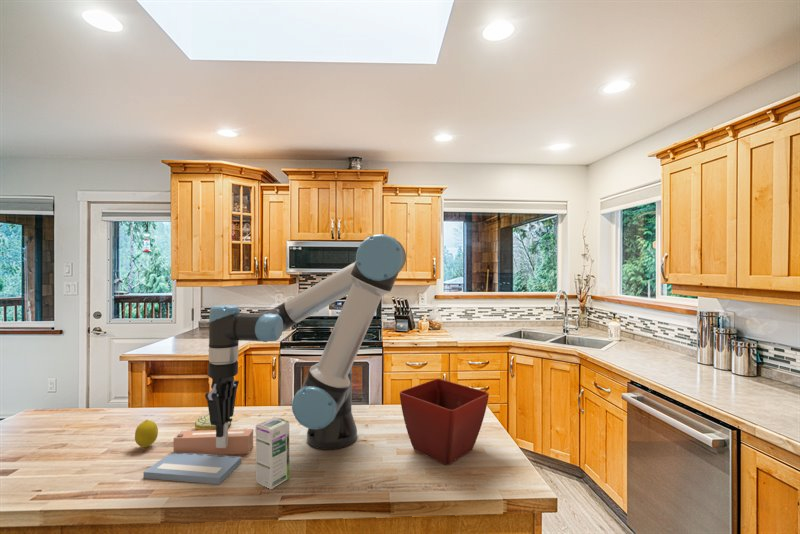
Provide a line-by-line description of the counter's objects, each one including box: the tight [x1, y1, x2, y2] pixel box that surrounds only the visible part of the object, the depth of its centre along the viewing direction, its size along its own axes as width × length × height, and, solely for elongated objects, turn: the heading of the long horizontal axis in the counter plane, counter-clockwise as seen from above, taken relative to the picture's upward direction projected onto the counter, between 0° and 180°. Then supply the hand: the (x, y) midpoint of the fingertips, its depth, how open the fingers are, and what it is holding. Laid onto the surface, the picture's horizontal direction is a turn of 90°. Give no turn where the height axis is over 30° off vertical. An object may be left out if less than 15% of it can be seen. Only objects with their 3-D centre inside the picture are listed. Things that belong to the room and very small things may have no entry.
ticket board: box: [143, 451, 242, 485], centre depth 97 cm, size 20×10×2 cm, turn 84°
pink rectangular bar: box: [172, 428, 254, 456], centre depth 107 cm, size 20×4×5 cm, turn 96°
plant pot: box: [399, 378, 490, 466], centre depth 109 cm, size 19×19×17 cm
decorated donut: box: [194, 413, 233, 431], centre depth 122 cm, size 10×11×4 cm
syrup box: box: [255, 416, 290, 490], centre depth 93 cm, size 6×6×14 cm
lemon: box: [134, 419, 159, 449], centre depth 108 cm, size 6×6×8 cm
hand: (221, 446), depth 104 cm, fingers closed
